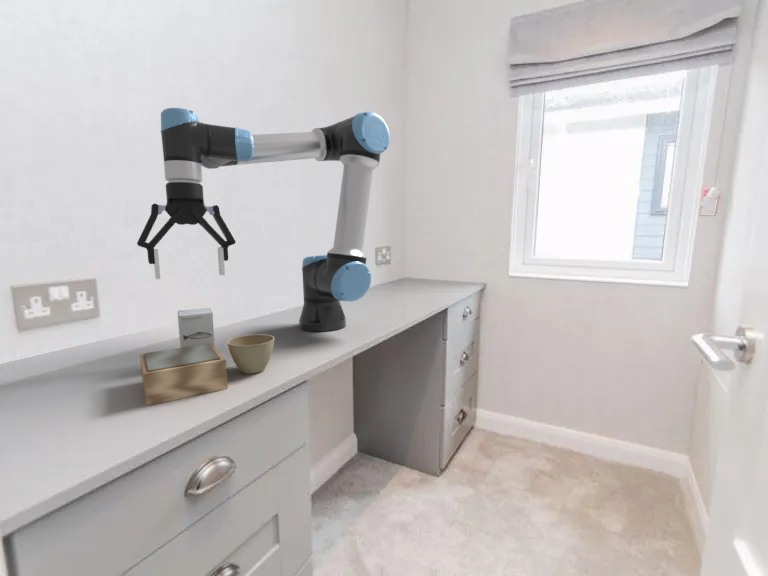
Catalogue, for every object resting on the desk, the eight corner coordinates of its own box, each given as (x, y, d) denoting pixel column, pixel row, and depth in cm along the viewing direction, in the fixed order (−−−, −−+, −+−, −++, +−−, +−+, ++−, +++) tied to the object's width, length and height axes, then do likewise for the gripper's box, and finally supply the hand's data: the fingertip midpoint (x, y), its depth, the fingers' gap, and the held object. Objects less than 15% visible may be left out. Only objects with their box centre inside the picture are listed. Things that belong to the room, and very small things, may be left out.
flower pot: (284, 365, 94) (283, 335, 93) (258, 380, 85) (256, 347, 84) (248, 361, 97) (247, 332, 96) (219, 375, 88) (217, 343, 87)
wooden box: (213, 368, 92) (211, 342, 91) (227, 388, 81) (225, 358, 80) (142, 382, 84) (139, 353, 84) (146, 405, 73) (143, 372, 72)
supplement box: (182, 369, 92) (177, 315, 90) (181, 360, 98) (177, 309, 97) (216, 364, 95) (213, 312, 93) (214, 356, 102) (210, 306, 100)
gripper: (237, 187, 101) (242, 271, 104) (118, 181, 87) (127, 278, 90) (245, 184, 94) (250, 274, 97) (118, 177, 81) (128, 282, 84)
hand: (191, 276), depth 94 cm, fingers open, 13 cm apart
